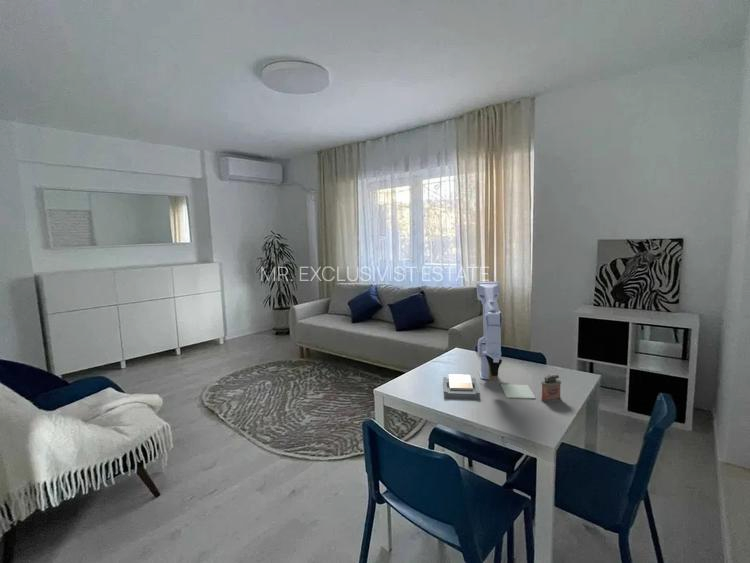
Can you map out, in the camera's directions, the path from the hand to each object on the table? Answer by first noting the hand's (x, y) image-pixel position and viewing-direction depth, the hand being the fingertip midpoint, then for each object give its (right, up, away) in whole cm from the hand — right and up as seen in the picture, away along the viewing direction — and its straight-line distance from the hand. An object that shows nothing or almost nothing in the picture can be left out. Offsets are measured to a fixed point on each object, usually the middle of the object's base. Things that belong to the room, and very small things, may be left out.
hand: (493, 374), depth 150 cm
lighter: (+20, -9, -6) cm, 23 cm away
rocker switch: (-12, -5, +6) cm, 14 cm away
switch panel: (-12, -8, +6) cm, 16 cm away
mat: (+11, -8, +2) cm, 13 cm away
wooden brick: (0, -2, 0) cm, 2 cm away
